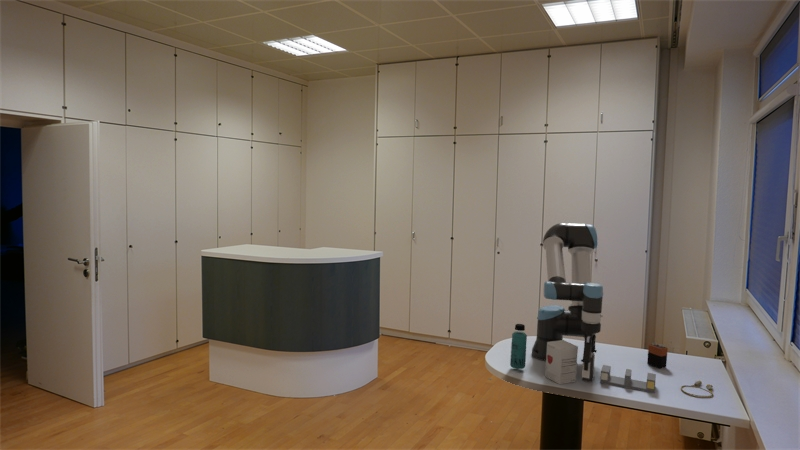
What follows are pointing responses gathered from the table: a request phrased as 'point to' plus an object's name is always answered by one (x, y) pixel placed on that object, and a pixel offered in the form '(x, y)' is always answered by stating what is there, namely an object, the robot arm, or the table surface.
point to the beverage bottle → (518, 347)
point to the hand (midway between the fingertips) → (587, 372)
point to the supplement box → (561, 361)
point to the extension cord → (700, 388)
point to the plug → (590, 369)
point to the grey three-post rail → (628, 380)
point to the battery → (657, 355)
